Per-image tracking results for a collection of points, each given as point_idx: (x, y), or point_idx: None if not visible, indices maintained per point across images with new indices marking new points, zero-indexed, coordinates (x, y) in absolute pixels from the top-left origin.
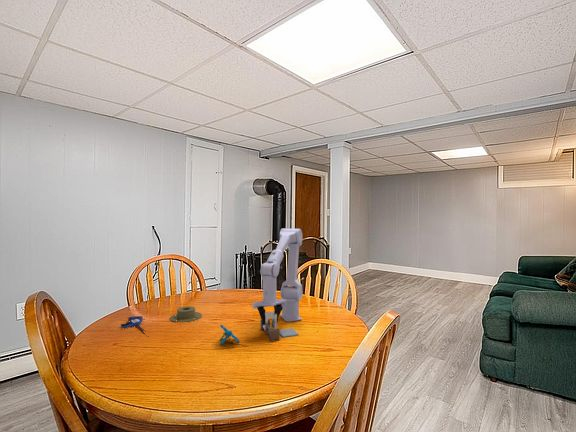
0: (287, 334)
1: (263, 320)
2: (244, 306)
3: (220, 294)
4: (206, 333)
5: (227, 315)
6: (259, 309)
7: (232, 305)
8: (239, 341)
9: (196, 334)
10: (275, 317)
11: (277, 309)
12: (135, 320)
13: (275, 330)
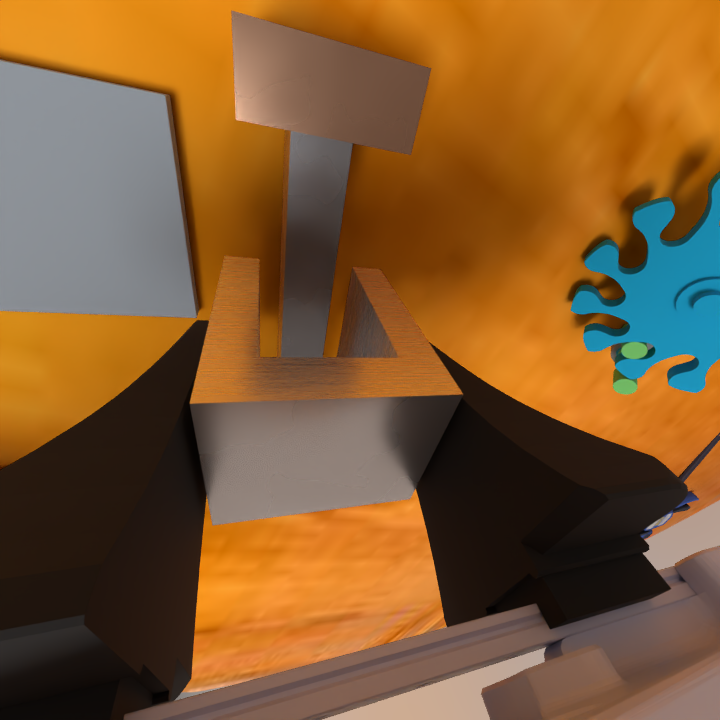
0: (70, 127)
1: (441, 354)
2: (283, 606)
3: (324, 650)
4: (591, 420)
5: (394, 549)
6: (647, 522)
7: (326, 607)
8: (638, 208)
9: (623, 420)
10: (236, 355)
11: (134, 531)
12: (657, 522)
13: (325, 52)
